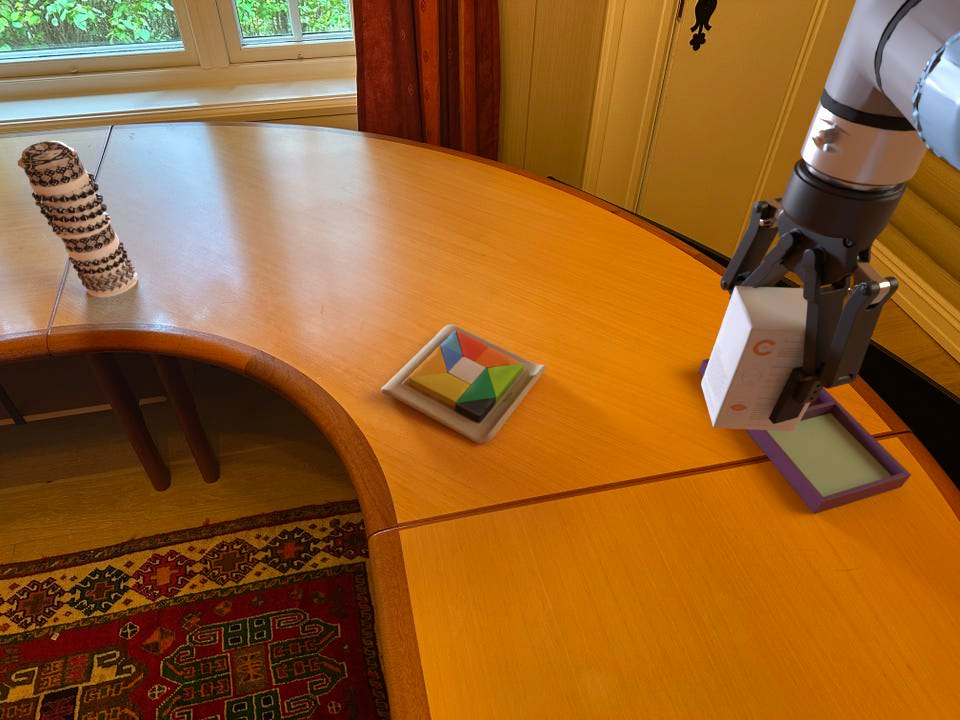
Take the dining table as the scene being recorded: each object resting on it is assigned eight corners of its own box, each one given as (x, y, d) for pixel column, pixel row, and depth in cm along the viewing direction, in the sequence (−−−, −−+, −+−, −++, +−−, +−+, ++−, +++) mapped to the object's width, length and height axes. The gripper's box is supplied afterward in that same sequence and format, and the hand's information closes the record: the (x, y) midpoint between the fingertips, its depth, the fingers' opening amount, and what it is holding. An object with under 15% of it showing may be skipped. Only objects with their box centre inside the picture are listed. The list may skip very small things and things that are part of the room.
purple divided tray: (772, 354, 94) (777, 342, 93) (901, 487, 76) (911, 474, 75) (698, 372, 91) (702, 359, 90) (814, 514, 74) (822, 502, 72)
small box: (776, 386, 64) (824, 287, 55) (795, 433, 59) (851, 333, 50) (698, 383, 64) (734, 283, 55) (711, 429, 60) (752, 329, 51)
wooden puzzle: (488, 450, 81) (489, 433, 78) (377, 396, 88) (374, 379, 85) (548, 372, 91) (550, 355, 89) (445, 329, 99) (444, 313, 96)
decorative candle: (147, 284, 108) (85, 149, 91) (92, 305, 103) (15, 166, 86) (131, 262, 113) (69, 129, 96) (78, 281, 108) (2, 145, 91)
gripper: (724, 121, 50) (666, 329, 66) (928, 252, 36) (792, 479, 52) (799, 110, 52) (725, 316, 68) (1023, 231, 38) (863, 457, 53)
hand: (754, 386), depth 60 cm, fingers closed on small box, 8 cm apart
